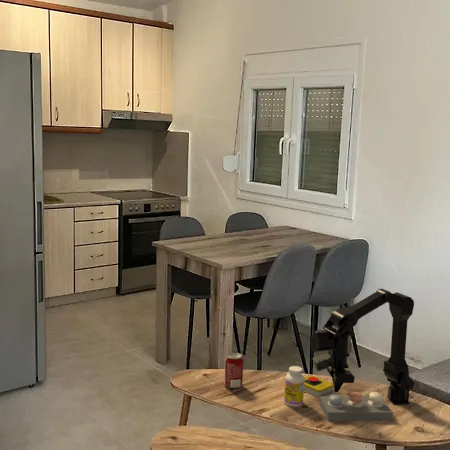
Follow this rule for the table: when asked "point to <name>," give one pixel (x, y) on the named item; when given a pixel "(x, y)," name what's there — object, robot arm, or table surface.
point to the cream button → (375, 397)
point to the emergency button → (318, 386)
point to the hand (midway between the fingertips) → (336, 392)
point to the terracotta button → (356, 397)
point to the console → (355, 410)
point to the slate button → (335, 399)
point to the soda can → (233, 370)
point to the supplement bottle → (294, 387)
